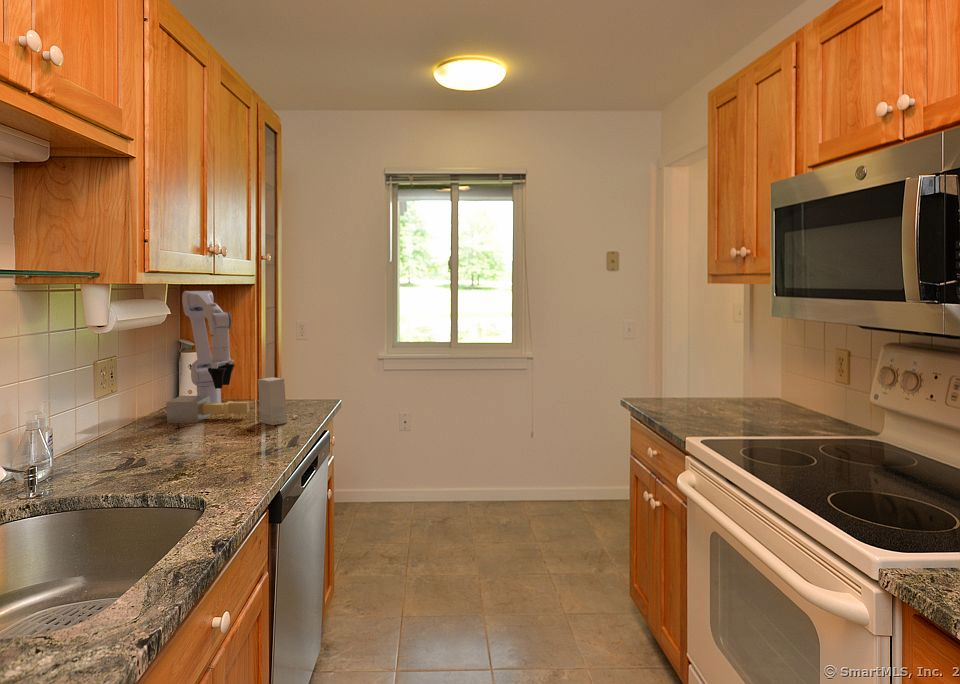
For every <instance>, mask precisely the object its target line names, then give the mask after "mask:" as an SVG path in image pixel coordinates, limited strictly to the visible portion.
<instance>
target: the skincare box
mask: <svg viewBox="0 0 960 684" xmlns="http://www.w3.org/2000/svg"><path fill="white" fill-rule="evenodd" d="M285 384H286V383H285V378H279V377H266V378H259V379H257V385H258V386H257V387H258V401H259V402H258V403H259V413H260V423H263V424H266V425H270V426H275V425H284V424H287V423H288V414H287V399H286V388H285V387H286V385H285Z"/></svg>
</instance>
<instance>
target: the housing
mask: <svg viewBox="0 0 960 684" xmlns="http://www.w3.org/2000/svg"><path fill="white" fill-rule="evenodd" d="M204 403H210V395H208V396H197V395H179V396H177V397H175V398H173V399H171V400H168V401H166V420H167V424H184V423H185V424H186V423H187V424H188V423H189V424H195V423H196V424H197V423H198V424H199V423H201V422H202V421H203V419H204V420H205V419H206V418H209V417H210V416H212V414H202V404H204Z"/></svg>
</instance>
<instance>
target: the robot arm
mask: <svg viewBox="0 0 960 684" xmlns="http://www.w3.org/2000/svg"><path fill="white" fill-rule="evenodd" d="M181 298H182V300H181V302H182V308H183V313H184V315H185V316H186V317H189V320H190V324H191V329H192V330H191V331H192V335H193V340H194V341H193V342H194V346H195V352H196V360H195V361H194V362H193V363H192V364H191V366H190V378H191V382H192V384H193V385H194V386H196V396H208V395H210V403H222V394H221V393H222V392H221V391H222V389H223V386H229V385H230V383H231V378H232V374H233V371H234V368H235V366H236V365H235V363H233V362H235V361H234V360H235V359H232V358H231V353H230V329H231V328H232V317H231V313H230V312H228V311H225V312H224V311H223V309H222V308H221V307H220V306H219V305H218V303H217V302H215V301H214V300H215V299H214V298H215V297H214V294H213V292H212V291H211V290H184V291H183V292H182V295H181ZM205 318H206V319H207V322H208V323H207V324H208V328H209V329H208V330H209V334H210V337H211V348H210V341H209V336H208V331H207V325H206V321H205Z"/></svg>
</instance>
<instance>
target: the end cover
mask: <svg viewBox="0 0 960 684" xmlns="http://www.w3.org/2000/svg"><path fill="white" fill-rule="evenodd" d="M250 406H251V405H250V401H233V400H228V401H226V402H221V403H204V404H202V414H211V415H223V419H225V420H226V419H227V420H228V419H230V418H232V417H234V414H248V413H250V411H251V410H250Z"/></svg>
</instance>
